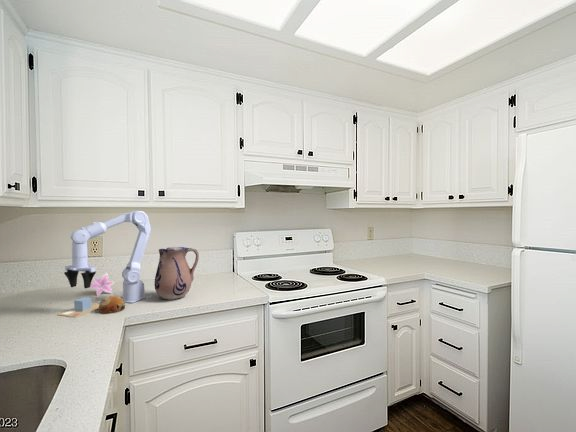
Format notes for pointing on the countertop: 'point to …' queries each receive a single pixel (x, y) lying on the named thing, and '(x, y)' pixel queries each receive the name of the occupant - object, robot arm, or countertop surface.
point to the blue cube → (82, 304)
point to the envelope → (78, 313)
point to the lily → (102, 284)
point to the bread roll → (111, 305)
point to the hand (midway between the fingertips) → (80, 287)
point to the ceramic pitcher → (174, 272)
